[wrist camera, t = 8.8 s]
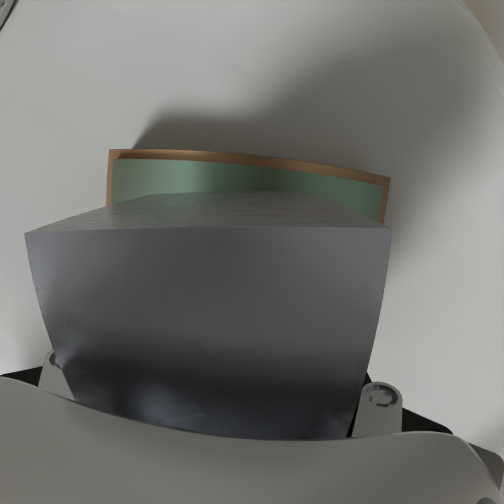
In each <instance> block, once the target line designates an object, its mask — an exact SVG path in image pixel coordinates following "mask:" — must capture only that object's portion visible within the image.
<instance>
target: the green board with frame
mask: <svg viewBox="0 0 504 504" xmlns="http://www.w3.org/2000/svg"><path fill="white" fill-rule="evenodd" d="M389 183H390V177H385V176H381V175H376V174H371V173H367V172H362V171H356V170H351V169H346V168H340V167H335V166H329V165H323V164H317V163H310V162H303V161H297V160H289V159H282V158H273V157H265V156H256V155H246V154H235V153H223V152H209V151H192V150H166V149H109V159H108V173H107V196H106V206H109V205H113V204H116V203H120V202H123V201H127V200H131V199H135V198H138V197H142V196H146V195H150V194H164V193H186V192H219V191H299V192H310V193H312V194H315V195H317V196H320V197H322V198H325V199H327V200H329V201H332V202H334V203H337V204H339V205H341V206H344V207H346V208H348V209H350V210H353V211H355V212H357V213H359V214H362V215H364V216H366V217H368V218H371V219H373V220H375V221H377V222H379V223H381V224H383V222H384V216H385V210H386V204H387V197H388V191H389Z"/></svg>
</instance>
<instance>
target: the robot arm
mask: <svg viewBox="0 0 504 504" xmlns="http://www.w3.org/2000/svg"><path fill="white" fill-rule="evenodd" d="M13 3H14V0H0V27H1V26H2V24H3V22H4V20H5V18H6V17H7V15H8V13H9V11H10V9H11V7H12V5H13ZM503 474H504V461H503V459H502V458H501V457H500V456H499V455H498V454H496V453H493V452H491V451H488V450H485V449H483V448H480V447H478V446H475V445H473V444H470V443H468V442H466V441H465V440H463V439H462V438H460V437H458V436H455V435H453V433H452V432H451V431H450V430H449V429H448V428H447V427H445V426H443V425H441V424H438V423H436V422H434V421H431V420H429V419H427V418H425V417H422V416H420V415H418V414H416V413H413V412H411V411H409V410H407V409H405V408H403V407H402V395H401V394H400V392H399V391H398V390H397V389H396V388H395V387H394V386H392V385H390V384H387V383H384V382H372V381H371V379H370V377H369V375H368V373H367V371H366V375H365V379H364V382H363V386H362V389H361V393H360V396H359V399H358V403H357V406H356V409H355V412H354V415H353V418H352V421H351V424H350V427H349V430H348V432H347V435H346V437H345V438H326V439H270V438H252V437H239V436H228V435H219V434H211V433H204V432H197V431H191V430H185V429H179V428H173V427H168V426H163V425H159V424H154V423H149V422H145V421H141V420H137V419H133V418H129V417H125V416H121V415H118V414H114V413H111V412H107V411H104V410H101V409H98V408H94V407H91V406H88V405H85V404H82V403H81V402H80V401H78V400H75V399H74V397H73V395H72V393H71V391H70V388H69V386H68V384H67V382H66V379H65V377H64V375H63V372H62V370H61V367H60V365H59V362H58V360H57V357H56V355H55V352H54V349H53V350H51V351H50V352H49V353H48V354H47V356H46V358H45V361H44V365H43V366H42V367H37V368H32V369H27V370H22V371H17V372H12V373H7V374H3V375H0V504H504V499H503V497H502V495H501V492H500V487H501V483H502V479H503Z"/></svg>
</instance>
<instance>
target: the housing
mask: <svg viewBox="0 0 504 504" xmlns="http://www.w3.org/2000/svg"><path fill="white" fill-rule="evenodd" d="M391 232H392V228H390V227H388V226H386V225H384V224H381V223H379V222H377V221H375V220H373V219H371V218H368V217H366V216H364V215H362V214H359V213H357V212H355V211H353V210H350V209H348V208H346V207H344V206H341V205H339V204H337V203H334V202H332V201H329V200H327V199H325V198H322V197H320V196H317V195H315V194H312V193H310V192H299V191H219V192H186V193H164V194H150V195H146V196H142V197H138V198H135V199H131V200H127V201H123V202H120V203H116V204H113V205H109V206H106V207H102V208H99V209H96V210H92V211H89V212H86V213H83V214H79V215H76V216H73V217H70V218H67V219H64V220H61V221H58V222H55V223H52V224H49V225H46V226H43V227H40V228H38V229H35V230H32V231H29V232H27V233H25V240H26V247H27V252H28V258H29V263H30V268H31V273H32V278H33V282H34V286H35V290H36V294H37V298H38V302H39V306H40V309H41V313H42V316H43V319H44V323H45V326H46V329H47V332H48V335H49V338H50V341H51V344H52V347H53V349H54V352H55V355H56V357H57V360H58V362H59V365H60V367H61V370H62V372H63V375H64V377H65V379H66V382H67V384H68V386H69V388H70V391H71V393H72V395H73V397H74V399H75V400H78V401H80V402H81V403H82V404H85V405H88V406H91V407H94V408H98V409H101V410H104V411H107V412H111V413H114V414H118V415H121V416H125V417H129V418H133V419H137V420H141V421H145V422H149V423H154V424H159V425H163V426H168V427H173V428H179V429H185V430H191V431H197V432H204V433H211V434H219V435H228V436H239V437H252V438H270V439H326V438H345V437H346V435H347V432H348V430H349V427H350V424H351V421H352V418H353V415H354V412H355V409H356V406H357V403H358V399H359V396H360V393H361V389H362V386H363V382H364V379H365V375H366V371H367V368H368V364H369V360H370V356H371V352H372V348H373V343H374V339H375V334H376V330H377V325H378V320H379V315H380V310H381V305H382V299H383V293H384V287H385V281H386V274H387V267H388V259H389V251H390V242H391Z"/></svg>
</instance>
